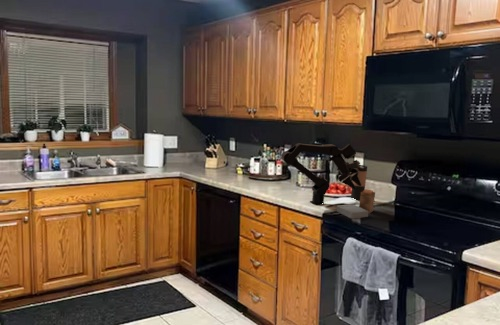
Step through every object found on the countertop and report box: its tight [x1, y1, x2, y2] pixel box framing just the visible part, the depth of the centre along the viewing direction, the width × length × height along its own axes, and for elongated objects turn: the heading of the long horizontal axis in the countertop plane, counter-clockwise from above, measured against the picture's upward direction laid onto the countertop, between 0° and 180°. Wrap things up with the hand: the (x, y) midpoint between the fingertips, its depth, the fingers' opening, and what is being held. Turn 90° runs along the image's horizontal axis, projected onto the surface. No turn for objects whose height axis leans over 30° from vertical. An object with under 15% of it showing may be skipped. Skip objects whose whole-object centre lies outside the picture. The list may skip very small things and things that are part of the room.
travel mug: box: [350, 164, 368, 201], centre depth 262 cm, size 8×8×20 cm
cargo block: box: [363, 188, 374, 194], centre depth 239 cm, size 4×4×3 cm
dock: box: [336, 204, 369, 219], centre depth 233 cm, size 12×11×3 cm
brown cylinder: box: [358, 191, 376, 214], centre depth 239 cm, size 6×6×10 cm
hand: (358, 187), depth 241 cm, fingers open, 9 cm apart
